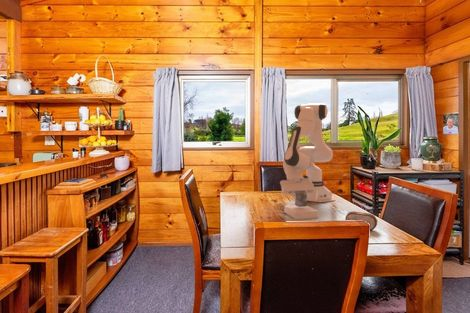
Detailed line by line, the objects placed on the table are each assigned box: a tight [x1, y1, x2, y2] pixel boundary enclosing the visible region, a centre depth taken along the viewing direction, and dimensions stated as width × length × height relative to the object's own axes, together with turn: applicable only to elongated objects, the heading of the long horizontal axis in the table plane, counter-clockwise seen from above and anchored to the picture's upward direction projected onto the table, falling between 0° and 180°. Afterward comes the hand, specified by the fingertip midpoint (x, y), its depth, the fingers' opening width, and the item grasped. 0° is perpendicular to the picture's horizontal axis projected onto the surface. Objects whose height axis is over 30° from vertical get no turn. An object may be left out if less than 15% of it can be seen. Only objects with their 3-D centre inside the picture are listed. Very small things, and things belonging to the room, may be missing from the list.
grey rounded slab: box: [345, 211, 378, 231], centre depth 158 cm, size 15×3×8 cm, turn 59°
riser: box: [283, 204, 319, 220], centre depth 185 cm, size 14×16×4 cm
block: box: [294, 193, 308, 207], centre depth 185 cm, size 5×5×7 cm
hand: (301, 198), depth 184 cm, fingers closed on block, 5 cm apart
